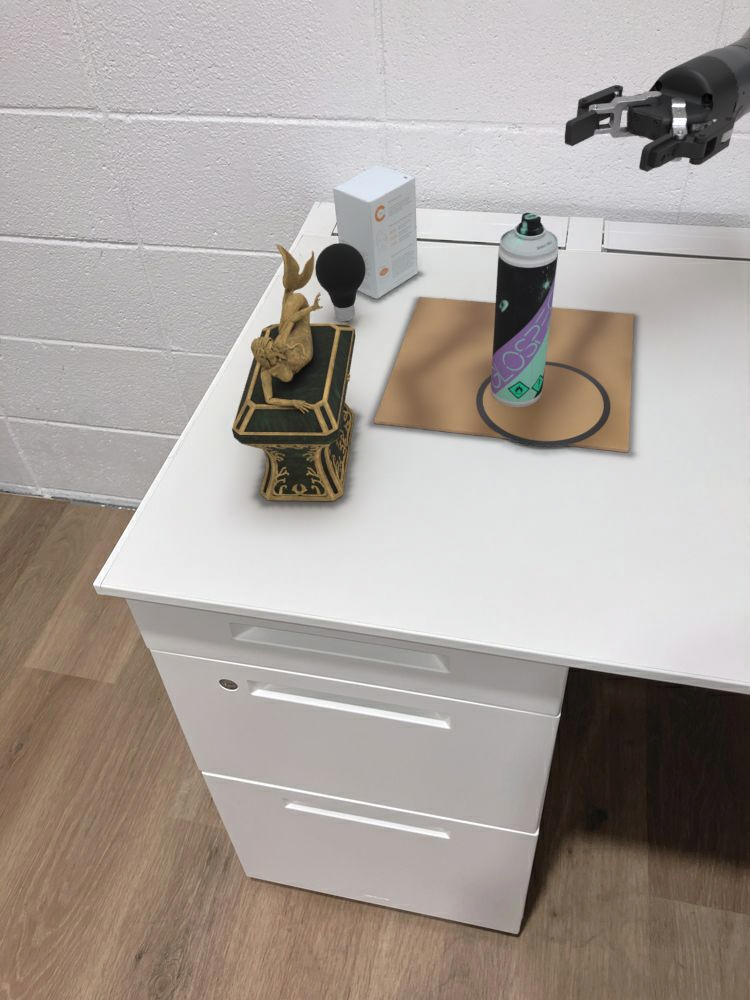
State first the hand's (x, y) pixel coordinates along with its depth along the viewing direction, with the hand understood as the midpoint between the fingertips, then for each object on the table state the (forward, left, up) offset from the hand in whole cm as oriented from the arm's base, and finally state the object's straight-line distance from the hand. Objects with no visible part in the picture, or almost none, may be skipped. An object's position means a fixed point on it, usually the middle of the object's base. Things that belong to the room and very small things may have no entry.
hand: (604, 147), depth 74 cm
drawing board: (+7, +3, -24) cm, 25 cm away
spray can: (+6, +8, -23) cm, 25 cm away
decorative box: (+25, +19, -24) cm, 40 cm away
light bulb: (+28, -3, -24) cm, 37 cm away
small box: (+26, -13, -24) cm, 37 cm away
